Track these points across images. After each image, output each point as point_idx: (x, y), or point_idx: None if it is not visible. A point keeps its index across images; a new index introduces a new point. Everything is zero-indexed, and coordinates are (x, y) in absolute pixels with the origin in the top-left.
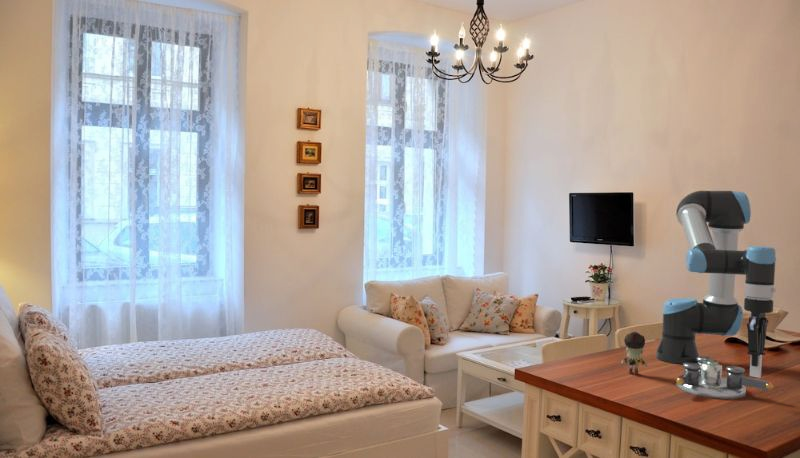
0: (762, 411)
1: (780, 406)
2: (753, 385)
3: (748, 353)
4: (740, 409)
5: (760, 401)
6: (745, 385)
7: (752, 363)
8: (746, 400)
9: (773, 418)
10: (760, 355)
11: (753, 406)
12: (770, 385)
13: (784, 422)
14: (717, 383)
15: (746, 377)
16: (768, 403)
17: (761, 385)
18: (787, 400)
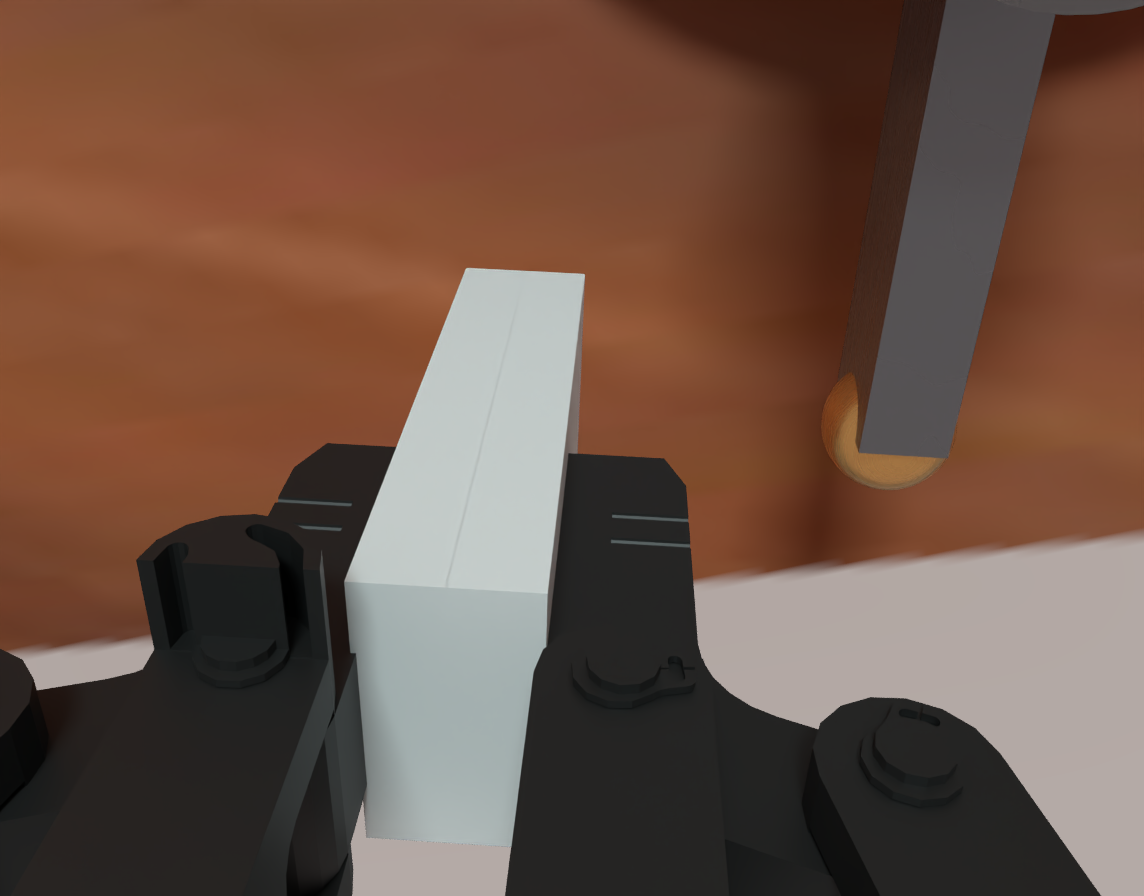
0: (309, 339)
1: (720, 462)
2: (879, 174)
3: (174, 574)
4: (136, 96)
5: (782, 227)
6: (901, 16)
7: (291, 504)
8: (685, 50)
9: (145, 477)
10: (469, 824)
11: (440, 204)
12: (839, 465)
13: (112, 576)
14: None
15: (1019, 38)
16: (755, 329)
17: (864, 317)
18: (1088, 484)
